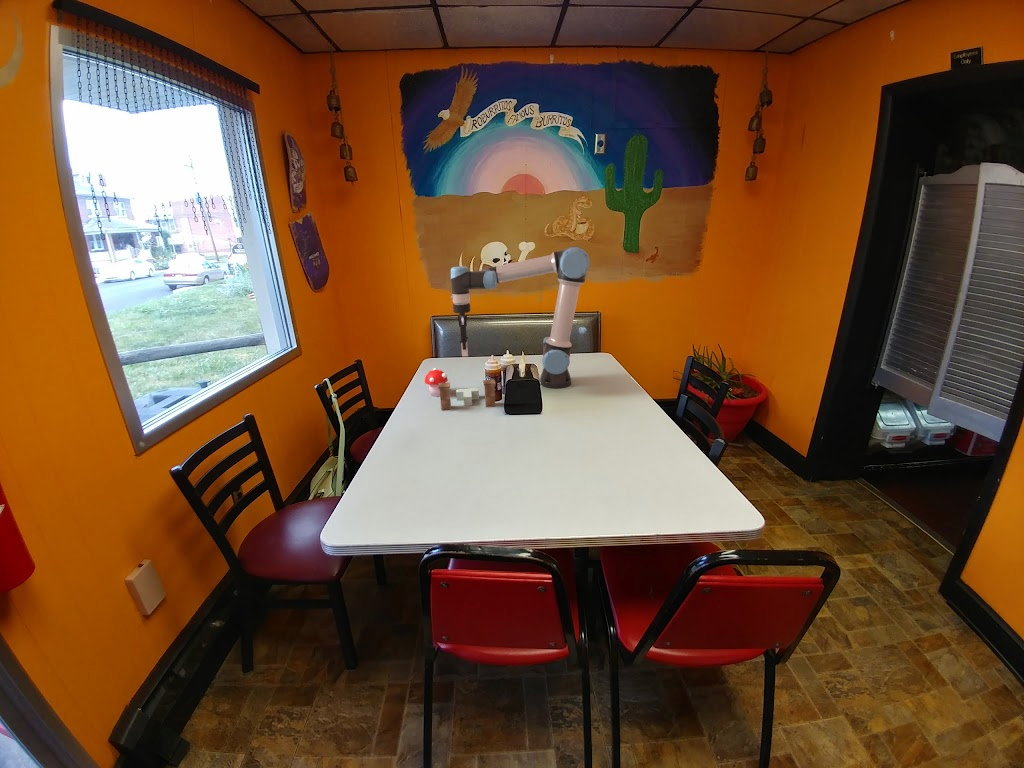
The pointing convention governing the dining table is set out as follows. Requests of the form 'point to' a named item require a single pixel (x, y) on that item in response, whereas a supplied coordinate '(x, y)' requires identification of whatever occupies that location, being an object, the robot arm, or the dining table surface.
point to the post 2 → (489, 393)
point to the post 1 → (445, 396)
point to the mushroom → (435, 381)
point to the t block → (467, 395)
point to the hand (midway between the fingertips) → (464, 354)
